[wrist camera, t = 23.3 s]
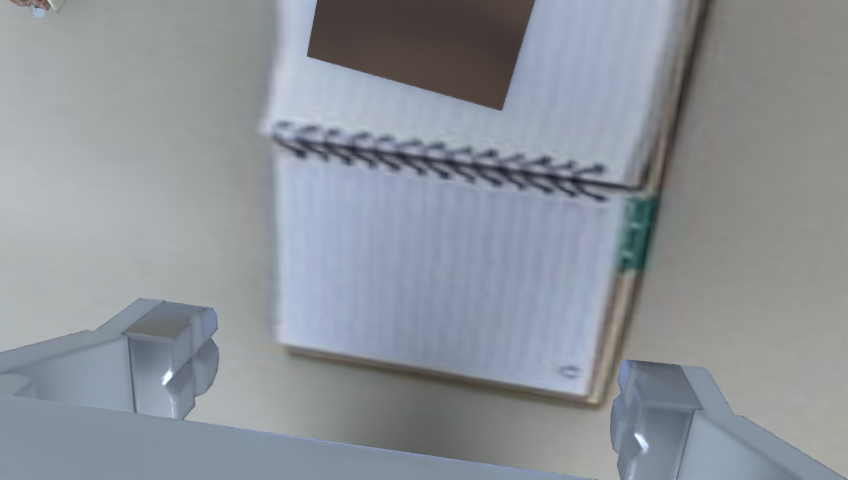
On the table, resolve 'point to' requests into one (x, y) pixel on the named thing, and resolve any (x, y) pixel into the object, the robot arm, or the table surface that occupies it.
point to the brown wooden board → (426, 43)
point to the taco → (40, 6)
